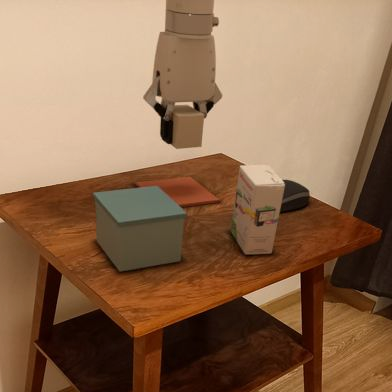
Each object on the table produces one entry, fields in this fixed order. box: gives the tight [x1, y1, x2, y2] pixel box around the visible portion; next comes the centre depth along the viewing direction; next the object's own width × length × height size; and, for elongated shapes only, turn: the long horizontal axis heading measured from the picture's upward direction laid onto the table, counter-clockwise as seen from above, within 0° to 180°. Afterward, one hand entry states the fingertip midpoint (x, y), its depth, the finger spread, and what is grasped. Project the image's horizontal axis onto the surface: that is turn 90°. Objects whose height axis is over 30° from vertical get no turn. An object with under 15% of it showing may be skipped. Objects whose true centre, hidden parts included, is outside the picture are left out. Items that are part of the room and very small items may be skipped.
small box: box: [160, 104, 205, 150], centre depth 96 cm, size 5×6×6 cm
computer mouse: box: [280, 179, 311, 213], centre depth 103 cm, size 7×12×4 cm, turn 129°
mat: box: [135, 176, 220, 208], centre depth 103 cm, size 12×12×1 cm
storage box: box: [92, 186, 188, 273], centre depth 81 cm, size 11×11×8 cm
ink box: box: [229, 163, 285, 256], centre depth 86 cm, size 8×5×12 cm, turn 14°
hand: (181, 139), depth 97 cm, fingers closed on small box, 5 cm apart
